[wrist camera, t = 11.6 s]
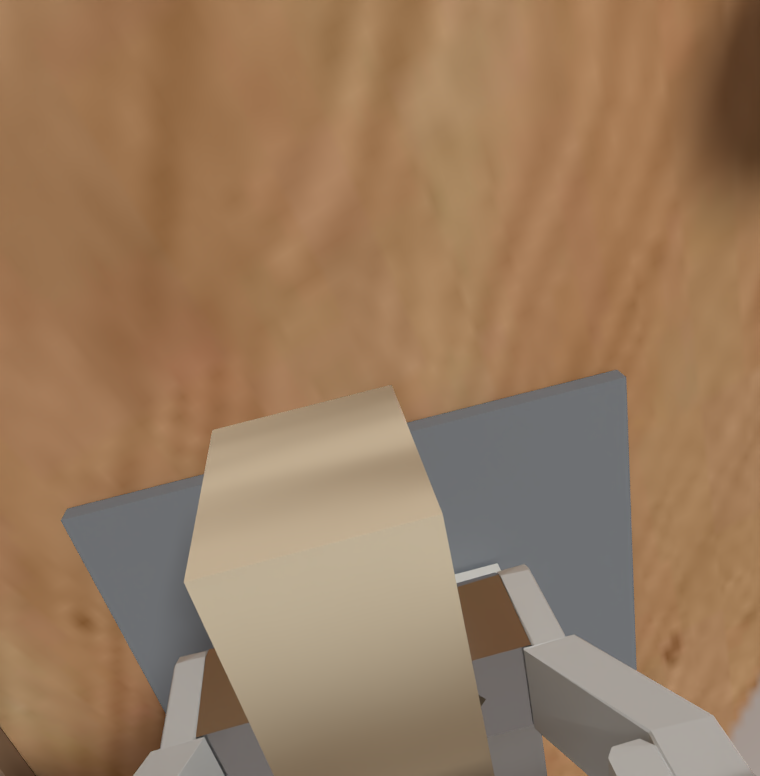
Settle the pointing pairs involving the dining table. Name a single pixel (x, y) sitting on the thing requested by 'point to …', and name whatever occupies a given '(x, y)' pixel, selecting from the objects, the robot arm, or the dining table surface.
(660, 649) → the dining table surface
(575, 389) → the mat
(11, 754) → the board
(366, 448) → the beige upright plank
